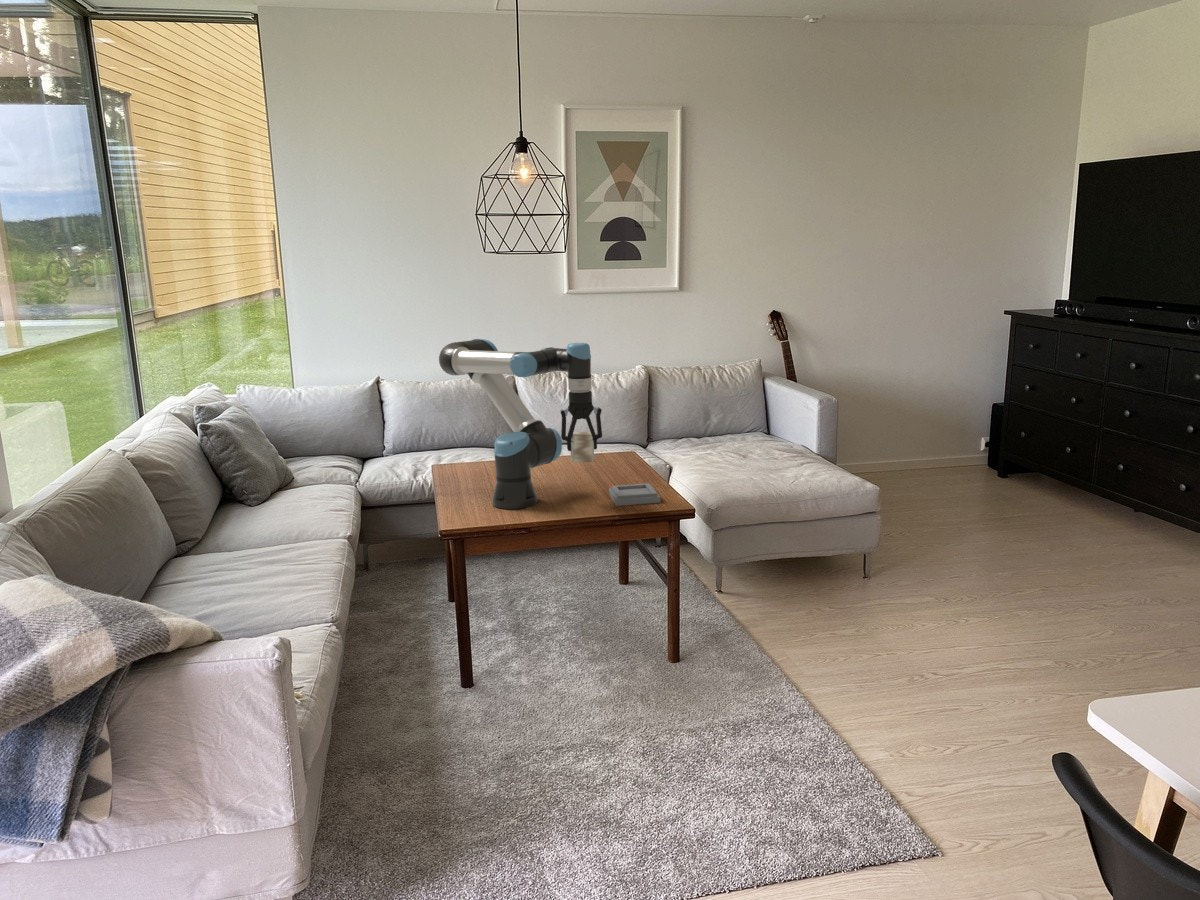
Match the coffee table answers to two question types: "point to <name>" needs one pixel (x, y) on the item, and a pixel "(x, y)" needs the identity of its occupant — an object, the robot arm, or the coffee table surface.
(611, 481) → the coffee table surface
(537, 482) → the coffee table surface
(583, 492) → the coffee table surface
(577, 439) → the birch block
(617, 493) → the slate plinth
